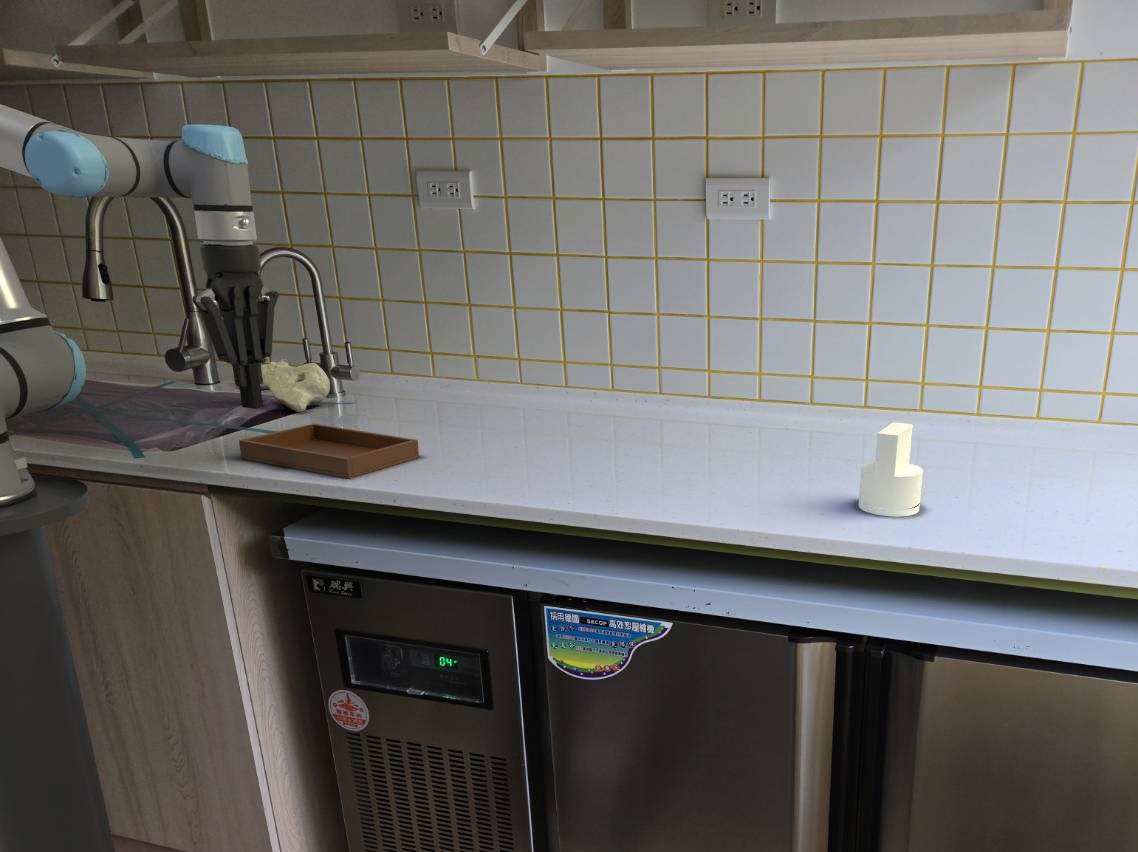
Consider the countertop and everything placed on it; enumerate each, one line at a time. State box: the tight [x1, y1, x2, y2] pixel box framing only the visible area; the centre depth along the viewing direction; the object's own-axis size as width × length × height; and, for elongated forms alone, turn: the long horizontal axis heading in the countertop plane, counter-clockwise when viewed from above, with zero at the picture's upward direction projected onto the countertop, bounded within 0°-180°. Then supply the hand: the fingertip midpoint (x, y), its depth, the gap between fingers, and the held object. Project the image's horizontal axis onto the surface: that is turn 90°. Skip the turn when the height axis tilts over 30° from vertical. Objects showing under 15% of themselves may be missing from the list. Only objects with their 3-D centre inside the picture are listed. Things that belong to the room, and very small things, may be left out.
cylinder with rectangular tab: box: [858, 421, 924, 518], centre depth 144 cm, size 9×9×12 cm
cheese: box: [261, 358, 331, 413], centre depth 200 cm, size 15×7×15 cm
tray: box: [238, 423, 420, 479], centre depth 162 cm, size 16×24×3 cm, turn 65°
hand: (252, 407), depth 147 cm, fingers closed
